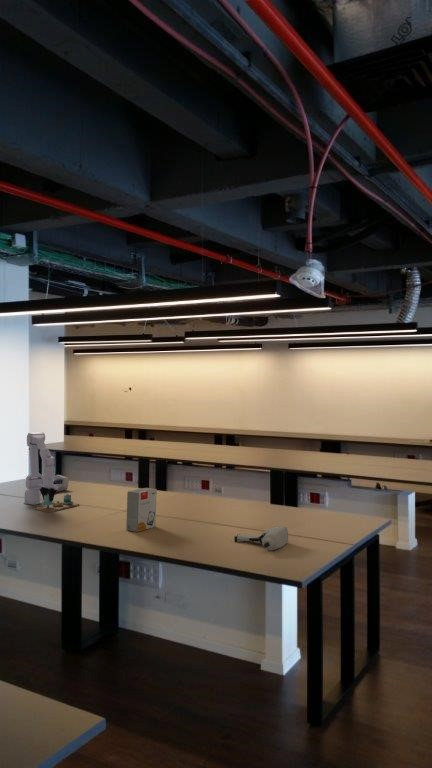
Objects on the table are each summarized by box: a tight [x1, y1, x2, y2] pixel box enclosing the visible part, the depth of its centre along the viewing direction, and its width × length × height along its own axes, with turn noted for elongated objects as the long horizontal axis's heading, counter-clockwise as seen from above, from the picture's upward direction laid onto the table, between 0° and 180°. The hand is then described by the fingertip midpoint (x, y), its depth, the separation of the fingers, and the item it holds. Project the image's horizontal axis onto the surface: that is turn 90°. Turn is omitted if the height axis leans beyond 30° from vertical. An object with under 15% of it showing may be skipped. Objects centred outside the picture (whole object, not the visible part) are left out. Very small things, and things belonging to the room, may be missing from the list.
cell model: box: [53, 474, 70, 493], centre depth 397 cm, size 13×11×20 cm
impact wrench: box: [234, 526, 289, 552], centre depth 268 cm, size 8×23×25 cm
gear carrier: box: [35, 493, 80, 513], centre depth 345 cm, size 23×13×7 cm, turn 150°
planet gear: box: [40, 494, 56, 506], centre depth 339 cm, size 8×8×5 cm
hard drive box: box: [125, 487, 157, 533], centre depth 298 cm, size 16×8×20 cm, turn 148°
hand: (48, 500), depth 339 cm, fingers closed on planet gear, 4 cm apart
